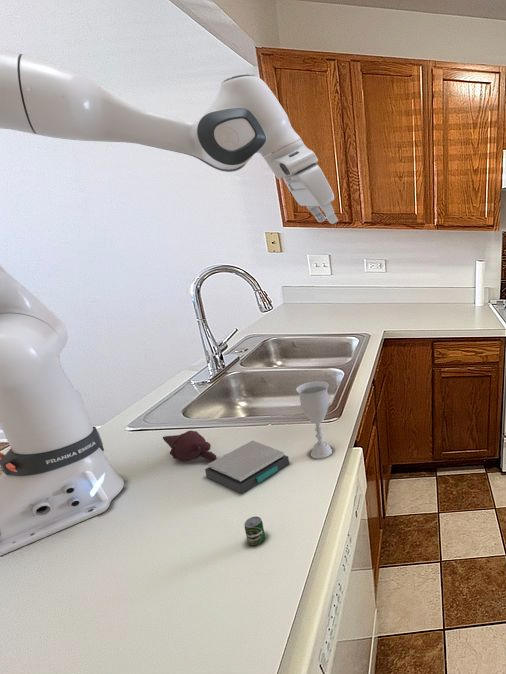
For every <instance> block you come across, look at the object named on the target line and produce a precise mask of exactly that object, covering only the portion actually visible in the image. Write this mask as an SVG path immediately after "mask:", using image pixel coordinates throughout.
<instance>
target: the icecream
mask: <svg viewBox="0 0 506 674" xmlns="http://www.w3.org/2000/svg"><path fill="white" fill-rule="evenodd" d="M162 440H163V441H164V442H165V443H166V444H167V446H169V448H171V449H170V451H169V455H170V456H172V459H176V460H180V461H182V460H184V461H189V460H194V459H198V458H199V457H200V456H201V457H202V458H203V459H205V460H207V461H210V462H213V461H214V460H216V459H217V455H216V454H215V453H213V452H212V451H210V450H211V448H212V446H211V443H210V442H208V441H206V438H205V437H204V436H202V435H201V434H200V433H199V432H198V431H196V430H188V431H186V432H184V433H180V434H175V435H165V436H162Z"/></svg>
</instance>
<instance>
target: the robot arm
mask: <svg viewBox="0 0 506 674" xmlns="http://www.w3.org/2000/svg"><path fill="white" fill-rule="evenodd" d="M214 99H215V100H214V101H213V102H212V104H211V105H210V107H209V108H208V109H207V111H206V112H205V113H204V114H203V115H202V116H201V117H200V119H198V120H197V121H196V120H194V121H192V120H186V119H181V118H177V117H173V116H171V115H167V114H162V113H158V112H155V111H151V110H147V109H144V108H140V107H138V106H135V105H132V104H130V103H128V102H125V101H123V100H122V99H120V98H118V97H116V96H115V95H113V94H112V93H110V92H108V91H107V90H106V89H104V88H103V87H101V86H100V85H99V84H97V83H96V82H94V81H93V80H92V79H90V78H89V77H87V76H85V75H82V74H81V73H79V72H76V71H73V70H71V69H69V68H66V67H63V66H61V65H58V64H56V63H53V62H51V61H48V60H44V59H41V58H38V57H34V56H31V55H27V54H23V53H19V52H16V51H11V50H7V49H3V48H0V129H1V130H2V129H3V130H11V131H18V132H24V133H27V134H32V135H37V136H43V137H47V138H52V139H53V138H54V139H59V140H61V139H62V140H69V141H81V142H100V143H101V142H102V143H104V142H105V143H107V142H110V143H127V144H138V145H142V146H146V147H151V148H156V149H160V150H165V151H170V152H174V153H178V154H183V155H188V156H190V157H193V158H195V159H197V160H199V161H201V162H202V163H204V164H206V165H207V166H208V167H211V168H213V169H215V170H217V171H220V172H225V173H233V172H237V171H240V170H241V169H243V168H244V167H245V166H246V165H247V163H248V162H249V161H250V160H251V159H252V158H253V156H254V155H255V154H257V153H258V154H260V155H261V157H262V158H263V159H264V161H265V162H266V164H267V166H268V167H269V168H270V170H271V171H272V173H273V174H274V176H275V177H276V179H277V180H280V179H283V181H284V183H285V185H286V187H287V189H288V190H289V192H290V194H291V195H292V197H293V198H294V201H296V203H297V204H298V205H299V206H300V207H306V208H307V210H308V211H309V212H310V213H311V214H312V216H314V217H315V219H316V221H317V222H318V223H324V222H325V221H326V220H327V222H328V223H329V224H331V225H334V224H336V223H338V222H339V219H338V217H337V215H336V213H335V210H334V207H333V205H332V204H331V202H333V201H335V194H334V191H333V189H332V187H331V186H330V185H331V184H330V183H329V182H328V180H327V178H326V175H325V173H324V172H323V170H322V168H321V166H319V164H318V162H319V158H318V157H317V155H316V153H315V152H314V151H313V150H312V149H310V148H308V147H307V145H306V144H305V143H304V141H303V139H302V138H301V137H300V135H299V134H298V133H297V132H296V131H295V129H294V128H293V126H292V124H291V121H290V118H289V116H288V114H287V112H286V111H285V109H284V108H283V106H282V105H281V103H280V102H279V101H280V100H278V98H277V97H276V95H275V94H274V92H273V91H272V90H271V88H270V87H269V86H268V84H267V83H266V82H265V81H264V80H263V79H262V78H260V77H259V76H257V75H254V74H239V75H238V74H237V75H234V76H232V77H229V78H226V79H225V80H223V81H222V82H221V83H220V88H219V90H218V93H217V95H216V97H215V98H214ZM320 209H321V210H320ZM322 211H323V212H322ZM68 338H69V336H68V329H67V326H66V324H65V322H64V320H63V319H62V318H61V317H60V316H59V315H58V314H57V313H55V312H54V311H52V310H50V309H49V308H48V306H46V305H45V304H44V303H43V302H42V301H41V300H39V298H38V297H36V296H35V295H34V293H32V292H31V291H30V290H28V288H26V287H25V286H24V285H23V284H22V283H20V281H18V280H17V279H16V278H15V277H14V276H13V275H12V274H10V273H9V272H8V271H7V270H6V269H5V268H4V266H2V264H0V428H1V430H2V432H3V434H4V436H5V439H6V440H7V443H8V445H9V447H10V449H9V450H8V451H7V452H6V453H5V454H4V453H3V452H0V469H1V471H2V473H1V474H0V557H1V556H3V555H6V554H9V553H10V552H12V551H15V550H18V549H20V548H23V547H24V546H25V547H26V546H27V545H29V544H32V543H34V542H36V541H39V540H41V539H44V538H46V537H48V536H51V535H53V534H55V533H58V532H61V531H62V530H65V529H67V528H70V527H72V526H74V525H77V524H80V523H82V522H84V521H86V520H88V519H90V518H93V517H96V516H98V515H100V514H103V513H105V512H106V511H107V510H108V509H109V507H110V505H111V503H112V501H113V500H114V499H115V498H116V497H117V496H118V495H119V494H120V492H122V490H123V489H124V487H125V480H124V479H123V478H122V477H121V476H120V475H119V474H118V473H117V471H116V470H115V469H114V468H113V466H112V464H111V463H110V461H109V460H108V458H107V456H106V454H105V452H104V451H105V448H104V443H103V440H102V437H101V434H100V432H99V431H98V429H97V427H96V426H93V423H92V421H91V418H90V416H89V412H88V410H87V407H86V404H85V402H84V398H83V396H82V393H81V391H80V390H78V389H77V388H76V387H75V386H74V384H73V383H72V382H71V380H70V378H69V377H68V375H67V374H66V372H65V371H64V368H63V366H62V364H61V359H60V357H61V353H62V351H63V350H64V348H65V347H66V345H67V343H68Z"/></svg>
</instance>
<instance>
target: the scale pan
mask: <svg viewBox="0 0 506 674" xmlns="http://www.w3.org/2000/svg"><path fill="white" fill-rule="evenodd" d="M284 455H285V452H284V451H282V450H279V449H276V448H273V447H271V446H269V445H266V444H263V443H260V442H257V441H256V440H251V441H249V442H247V443H245V444H244V445H241V446H239V447H237V448H236V449H233V450H232V451H230V452H228V453H226V454H224V455H222V456H220V457H218V458H216V460H214V461H210V462H209V463H207V468H208V467H209V468H211V469H213V470H216V471H218V472H220V473H222V474H225V475H227V476H229V477H231V478H233V479H236V480H238V481H240V482H241V481H243V480H244V479H246V478H248V477H249V476H251V475H253V474H254V473H256V472H258V471H259V470H261V469H263V468H264V467H266V466H268V465H269V464H271V463H273V462H274V461H276V460H278V459H279V458H281V457H283V456H284Z"/></svg>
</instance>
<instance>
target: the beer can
mask: <svg viewBox="0 0 506 674" xmlns="http://www.w3.org/2000/svg"><path fill="white" fill-rule="evenodd" d="M243 524H244V532H245V537H246V540H247V543H248V545H249V546H254V547H255V546H258V545H261V544H262V543H263V542H264V541H265V540H266V533H265V528H264V523H263V520H262V518H261V517H260V516H255V515H254V516H251V517H249V518H247V519H246V520H245V522H244V523H243Z"/></svg>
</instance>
